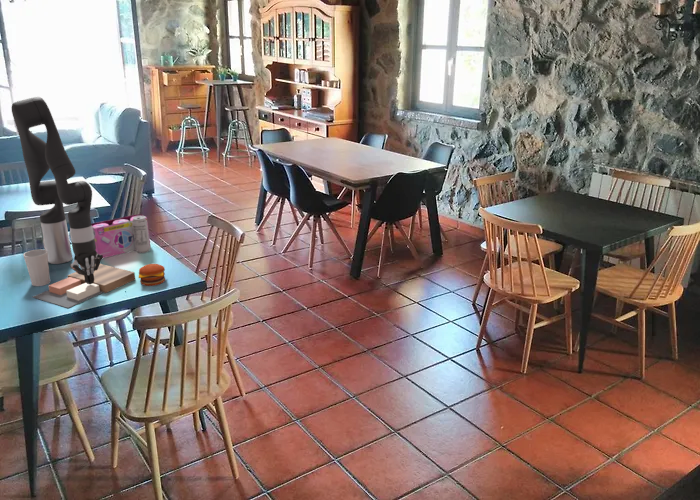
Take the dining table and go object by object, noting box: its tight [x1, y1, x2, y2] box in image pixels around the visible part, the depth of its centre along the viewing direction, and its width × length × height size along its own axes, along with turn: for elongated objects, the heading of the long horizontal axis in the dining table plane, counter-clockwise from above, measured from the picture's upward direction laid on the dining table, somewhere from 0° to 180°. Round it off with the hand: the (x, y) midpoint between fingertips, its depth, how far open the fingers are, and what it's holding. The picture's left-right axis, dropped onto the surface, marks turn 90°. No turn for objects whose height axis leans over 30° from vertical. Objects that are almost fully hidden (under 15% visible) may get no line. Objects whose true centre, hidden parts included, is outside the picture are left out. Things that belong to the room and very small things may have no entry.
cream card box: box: [66, 283, 100, 301], centre depth 215 cm, size 6×9×2 cm, turn 150°
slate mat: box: [32, 289, 105, 309], centre depth 216 cm, size 19×15×1 cm
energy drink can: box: [132, 215, 151, 254], centre depth 255 cm, size 6×6×15 cm
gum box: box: [91, 213, 151, 259], centre depth 257 cm, size 24×8×14 cm, turn 131°
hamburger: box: [138, 263, 166, 287], centre depth 226 cm, size 9×10×7 cm
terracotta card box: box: [47, 277, 81, 295], centre depth 220 cm, size 6×9×2 cm, turn 151°
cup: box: [23, 248, 51, 287], centre depth 224 cm, size 8×8×12 cm
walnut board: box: [67, 263, 136, 294], centre depth 227 cm, size 20×14×3 cm
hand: (90, 283), depth 217 cm, fingers closed
